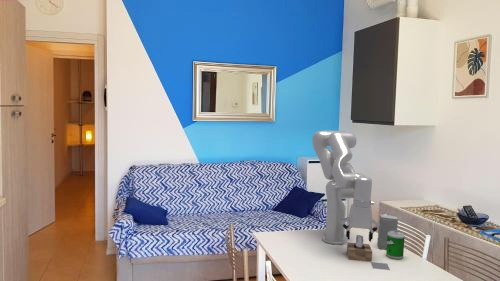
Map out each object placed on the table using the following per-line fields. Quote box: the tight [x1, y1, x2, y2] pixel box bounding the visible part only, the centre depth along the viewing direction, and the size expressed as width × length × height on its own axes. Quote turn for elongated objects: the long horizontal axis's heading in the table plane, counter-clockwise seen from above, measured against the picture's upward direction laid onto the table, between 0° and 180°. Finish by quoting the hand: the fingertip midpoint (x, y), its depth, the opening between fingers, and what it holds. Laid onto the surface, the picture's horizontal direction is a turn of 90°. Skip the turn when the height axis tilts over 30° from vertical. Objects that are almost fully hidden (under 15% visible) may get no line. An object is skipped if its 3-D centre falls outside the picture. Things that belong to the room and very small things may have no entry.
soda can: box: [385, 230, 406, 260], centre depth 181 cm, size 8×8×12 cm
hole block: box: [346, 241, 373, 263], centre depth 180 cm, size 10×10×5 cm
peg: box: [355, 234, 364, 249], centre depth 180 cm, size 3×3×10 cm
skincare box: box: [376, 213, 399, 250], centre depth 194 cm, size 8×7×16 cm
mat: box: [370, 261, 391, 271], centre depth 170 cm, size 7×7×1 cm
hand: (358, 239), depth 180 cm, fingers open, 9 cm apart
